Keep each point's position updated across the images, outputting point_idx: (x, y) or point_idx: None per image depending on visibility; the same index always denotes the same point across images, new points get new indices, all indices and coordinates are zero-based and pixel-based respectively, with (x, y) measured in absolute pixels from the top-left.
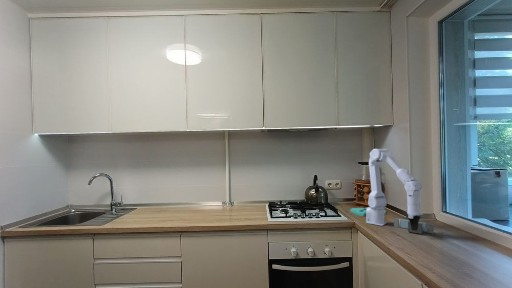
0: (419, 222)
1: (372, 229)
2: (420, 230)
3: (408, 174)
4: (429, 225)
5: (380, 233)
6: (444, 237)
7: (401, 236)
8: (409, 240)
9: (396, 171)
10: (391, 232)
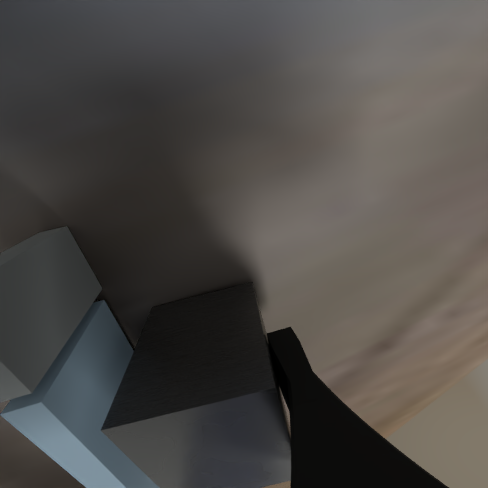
0: (141, 448)
1: None
2: (258, 309)
3: None
4: (24, 336)
5: (409, 394)
6: (99, 43)
7: (402, 322)
8: (470, 251)
9: None
10: (351, 388)
